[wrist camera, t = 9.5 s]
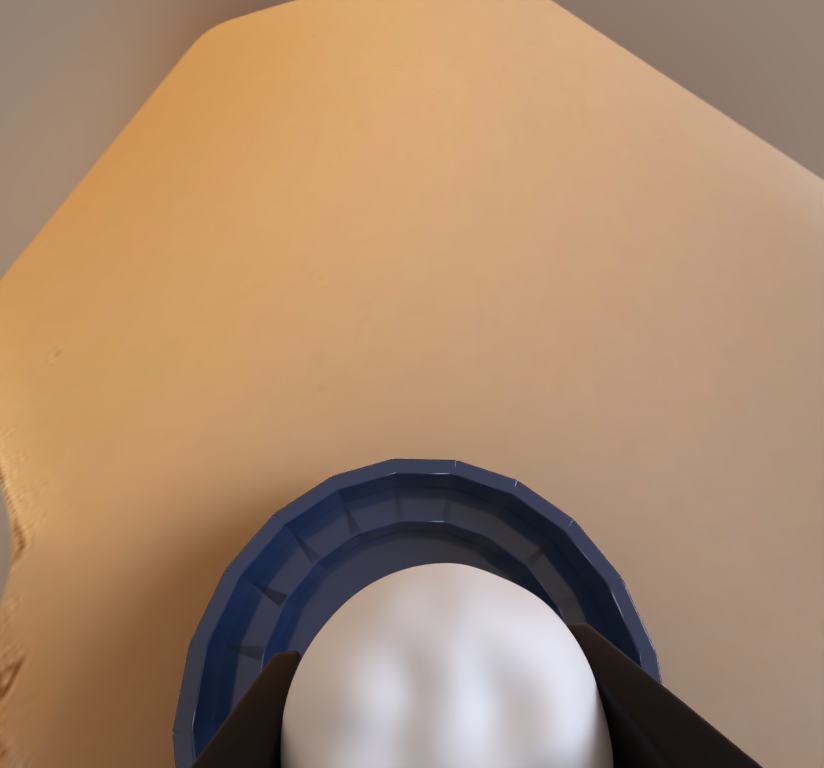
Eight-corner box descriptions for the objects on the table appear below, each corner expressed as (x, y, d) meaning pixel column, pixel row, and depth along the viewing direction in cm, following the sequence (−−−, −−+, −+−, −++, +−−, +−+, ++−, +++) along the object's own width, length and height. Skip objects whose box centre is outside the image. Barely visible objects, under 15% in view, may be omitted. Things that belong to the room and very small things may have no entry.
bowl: (359, 1088, 15) (343, 1250, 11) (158, 627, 21) (99, 625, 17) (698, 736, 19) (776, 763, 15) (456, 429, 25) (466, 388, 21)
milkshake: (363, 856, 13) (272, 1364, 4) (330, 623, 15) (227, 588, 6) (537, 804, 13) (824, 1135, 4) (479, 586, 15) (583, 505, 7)
